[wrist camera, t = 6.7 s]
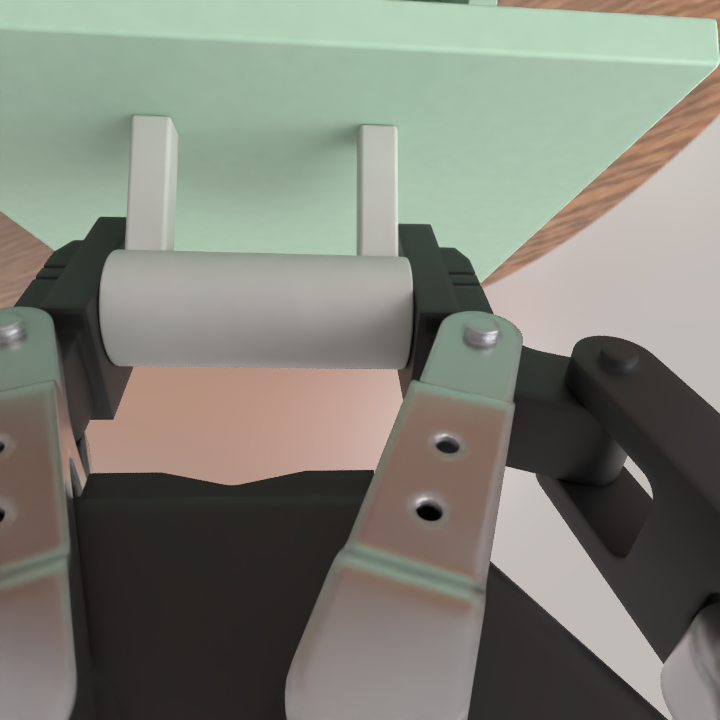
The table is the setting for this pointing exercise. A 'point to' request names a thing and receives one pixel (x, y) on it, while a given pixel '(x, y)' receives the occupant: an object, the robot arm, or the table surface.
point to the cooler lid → (311, 154)
